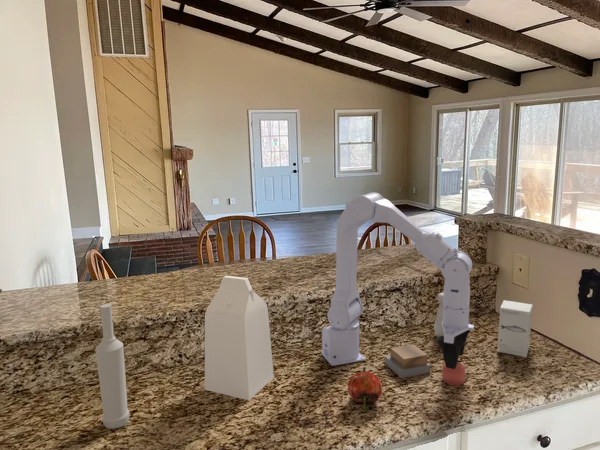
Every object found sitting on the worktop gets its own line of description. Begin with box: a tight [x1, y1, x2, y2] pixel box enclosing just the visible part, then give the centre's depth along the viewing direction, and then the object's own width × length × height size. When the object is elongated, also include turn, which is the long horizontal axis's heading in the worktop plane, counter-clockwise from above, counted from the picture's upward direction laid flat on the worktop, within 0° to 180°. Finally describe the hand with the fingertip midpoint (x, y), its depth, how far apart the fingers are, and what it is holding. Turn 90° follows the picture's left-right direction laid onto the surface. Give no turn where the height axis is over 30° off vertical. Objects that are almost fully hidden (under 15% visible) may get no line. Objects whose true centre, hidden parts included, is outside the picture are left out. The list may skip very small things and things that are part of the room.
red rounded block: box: [441, 361, 466, 386], centre depth 108 cm, size 5×5×4 cm
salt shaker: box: [433, 292, 444, 338], centre depth 132 cm, size 6×6×13 cm
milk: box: [204, 275, 275, 401], centre depth 107 cm, size 12×12×26 cm
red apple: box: [347, 366, 384, 413], centre depth 99 cm, size 7×7×10 cm
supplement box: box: [496, 299, 534, 358], centre depth 122 cm, size 7×7×13 cm
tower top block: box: [390, 344, 428, 369], centre depth 114 cm, size 6×6×2 cm
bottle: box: [95, 303, 130, 430], centre depth 92 cm, size 5×5×25 cm
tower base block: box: [384, 354, 431, 379], centre depth 114 cm, size 8×8×2 cm
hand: (454, 360), depth 107 cm, fingers open, 7 cm apart
